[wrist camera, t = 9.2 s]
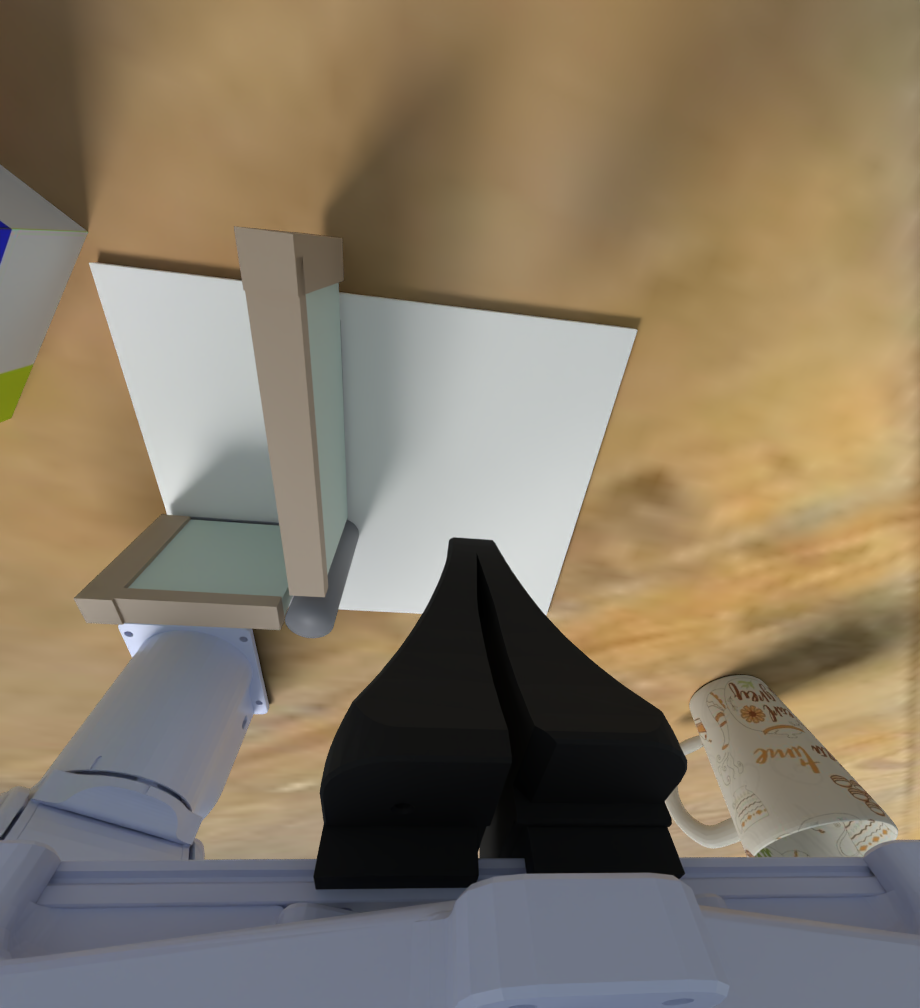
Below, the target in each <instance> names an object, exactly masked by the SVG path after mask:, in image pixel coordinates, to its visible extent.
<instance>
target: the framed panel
mask: <svg viewBox="0 0 920 1008" xmlns="http://www.w3.org/2000/svg"><path fill="white" fill-rule="evenodd" d="M234 231H235V238H236V244H237V251H238V258H239V265H240V271H241V278H242V285H243V290H245V294H246V301H247V308H248V315H249V322H250V328H251V335H252V342H253V349H254V356H255V363H256V369H257V376H258V383H259V390H260V397H261V404H262V410H263V417H264V424H265V431H266V438H267V444H268V451H269V458H270V465H271V472H272V479H273V485H274V492H275V499H276V506H277V513H278V520H279V526H280V533H281V540H282V547H283V554H284V560H285V567H286V574H287V581H288V588H289V595H290V596H309V597H325V596H326V593H327V590H328V576H327V575H328V572H329V569H330V567H331V564H332V561H333V558H334V555H335V552H336V549H337V546H338V544H339V541H340V538H341V535H342V532H343V529H344V526H345V523H346V520H347V518H348V509H347V483H346V458H345V432H344V407H343V381H342V356H341V330H340V305H339V282H342V281H344V272H343V242H342V238H337V237H329V236H322V235H314V234H306V233H297V232H287V231H276V230H266V229H256V228H245V227H235V226H234Z"/></svg>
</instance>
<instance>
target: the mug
mask: <svg viewBox="0 0 920 1008" xmlns="http://www.w3.org/2000/svg"><path fill="white" fill-rule="evenodd" d="M689 707H690V711H691V714H692V717H693V720H694V722H695V725H696V727H697V730H698V733H699V735H700V736H695V737H692V738H689V739H687V740H685V741H683V742H681V743H679V745H680V747H681V749H682V751H683V753H684V755H687V754H689V753H691V752H694V751H696V750H698V749H700V748H701V747H703V746H704V748H705V751H706V753H707V756H708V758H709V761H710V763H711V766H712V769H713V771H714V774H715V776H716V779H717V781H718V784H719V787H720V789H721V792H722V794H723V797H724V799H725V802H726V805H727V807H728V810H729V812H730V815H731V818H729V819H727V820H725V821H722V822H720V823H718V824H716V825H712V826H708V825H704V824H702V823H700V822H699V821H697V820H696V819H694V818H693V817H692V816H691V815H690V814H689V813H688V812H687V811H686V809H685V808H684V806H683V804H682V802H681V800H680V797H679V794H678V787H676V788H675V789H674V790H673V792H672V793H671V794H670V795H669V797H668V798H667V799H666V800H665V803H666V806H667V808H668V810H669V812H670V814H671V816H672V818H673V819H674V821H675V822H676V823H677V825H678V826H679V827H680V828H681V829H682V830H683V832H684V833H686V834H687V835H688V836H689V837H690V838H691V839H693V840H694V841H696V842H697V843H699V844H700V845H702V846H705V847H707V848H720V847H724V846H727V845H730V844H733V843H736V842H739V841H741V843H742V846H743V848H744V851H745V853H746V855H747V857H864V854H865V853H866V852H867V851H868V850H869V849H871V848H872V847H874V846H876V845H878V844H880V843H883V842H887V841H892V840H895V839H896V838H897V835H898V829H897V827H896V825H895V824H894V822H893V821H892V820H891V819H890V817H889V816H888V815H887V814H886V813H885V812H884V810H883V809H882V808H881V807H880V806H879V805H878V804H877V803H876V802H875V801H874V800H873V799H872V798H871V796H870V795H869V794H868V793H867V792H866V791H865V790H864V789H863V788H862V787H861V786H860V785H859V784H858V783H857V781H856V780H855V779H854V778H853V777H852V776H851V775H850V774H849V773H848V772H847V771H846V770H845V769H844V768H843V766H842V765H841V764H840V763H839V762H838V761H837V760H836V759H835V758H834V757H833V756H832V755H831V754H830V753H829V751H828V750H827V749H826V748H825V747H824V746H823V745H822V744H821V743H820V742H819V741H818V740H817V739H816V738H815V736H814V735H813V734H812V733H811V732H810V731H809V730H808V729H807V728H806V727H805V726H804V725H803V724H802V723H801V721H800V720H799V719H798V718H797V717H796V716H795V715H794V714H793V713H792V712H791V711H790V710H789V709H788V708H787V706H786V705H785V704H784V703H783V702H782V701H781V700H780V699H779V698H778V697H777V696H776V695H775V694H774V693H773V691H772V690H771V689H770V688H769V687H768V686H767V685H766V684H765V683H764V682H763V681H761V680H760V679H758V678H756V677H753V676H749V675H734V676H728V677H724V678H720V679H718V680H715V681H713V682H710V683H708V684H707V685H705V686H703V687H702V688H701V689H699V690H698V691H697V692H696V693H695V694H694V695H693V697H692V698H691V700H690V704H689Z"/></svg>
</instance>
